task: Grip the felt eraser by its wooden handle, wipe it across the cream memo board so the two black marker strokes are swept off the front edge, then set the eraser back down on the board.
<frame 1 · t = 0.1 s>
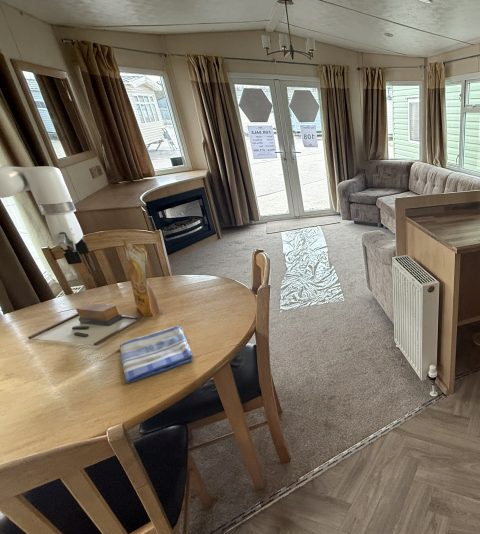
hand: (79, 258, 112), 28 cm above the table, tool pointing down, fingers open, 9 cm apart
stroke 1: (81, 328, 120), point 1 cm above the table, touching memo board
eraser: (101, 321, 125), point 1 cm above the table, touching memo board
dish towel: (157, 354, 111), on the table
memo board: (88, 330, 121), on the table
stroke 2: (81, 335, 117), point 1 cm above the table, touching memo board
pancake mix bag: (151, 310, 135), on the table
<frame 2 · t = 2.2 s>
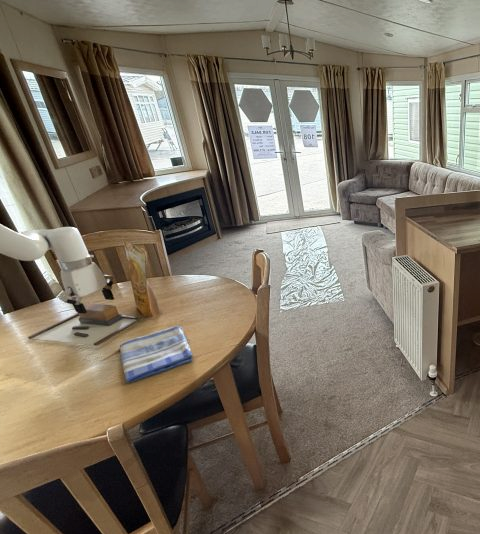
hand: (96, 305, 123), 7 cm above the table, tool pointing down, fingers open, 9 cm apart
nothing on the table moved.
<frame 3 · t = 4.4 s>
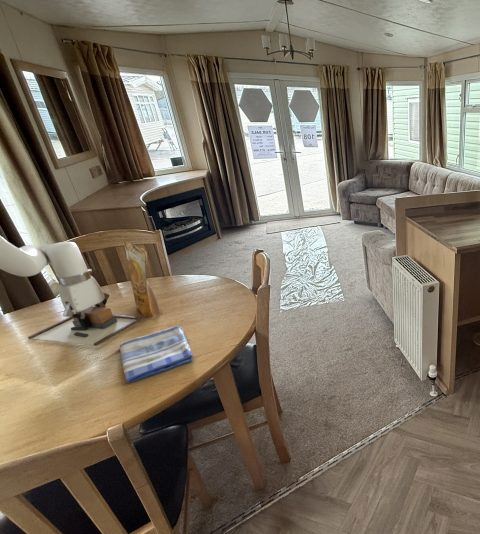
hand: (95, 321, 123), 2 cm above the table, tool pointing down, fingers closed on eraser, 5 cm apart
stroke 1: (79, 329, 120), point 1 cm above the table, touching gripper
eraser: (96, 323, 123), point 1 cm above the table, touching gripper
everything else where it was.
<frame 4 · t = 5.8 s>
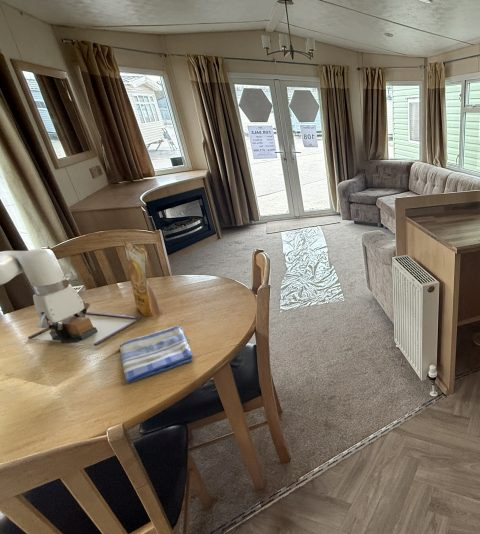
hand: (74, 332, 117), 2 cm above the table, tool pointing down, fingers closed on eraser, 5 cm apart
stroke 1: (60, 339, 114), point 1 cm above the table, touching eraser, gripper, memo board
eraser: (75, 334, 117), point 1 cm above the table, touching gripper, stroke 1
stroke 2: (70, 341, 114), point 1 cm above the table, touching memo board
everything else where it was.
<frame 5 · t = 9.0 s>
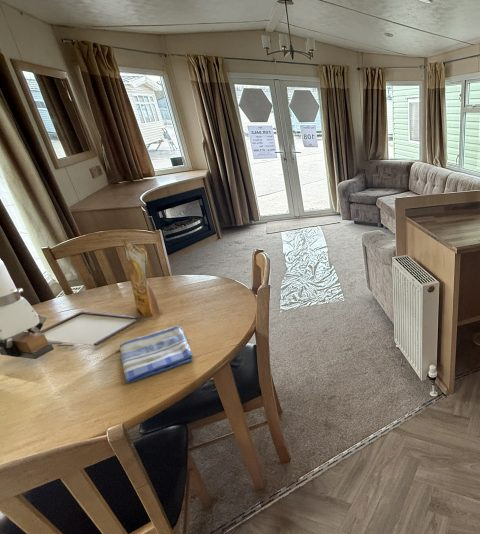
hand: (26, 349, 105), 4 cm above the table, tool pointing down, fingers closed on eraser, 5 cm apart
stroke 1: (56, 343, 113), on the table, tilted 90°
eraser: (28, 352, 105), point 3 cm above the table, touching gripper
stroke 2: (67, 345, 112), on the table, tilted 90°
everything else where it was.
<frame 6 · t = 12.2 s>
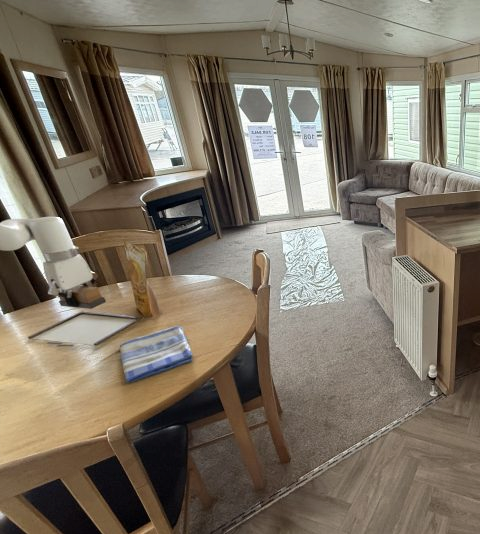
hand: (82, 301, 119), 11 cm above the table, tool pointing down, fingers closed on eraser, 5 cm apart
eraser: (83, 303, 119), point 10 cm above the table, touching gripper
everything else where it was.
when the fingers open (2 cm above the table, at t = 14.6 s): eraser stays where it is, resting on memo board.
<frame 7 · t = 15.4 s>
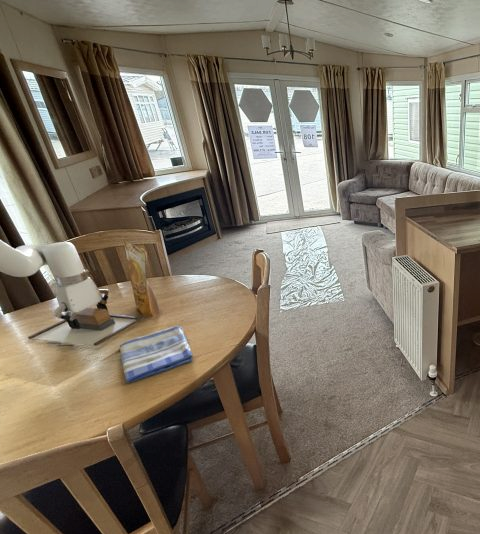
hand: (91, 320, 122), 3 cm above the table, tool pointing down, fingers open, 9 cm apart
eraser: (93, 325, 123), point 1 cm above the table, touching memo board
everything else where it was.
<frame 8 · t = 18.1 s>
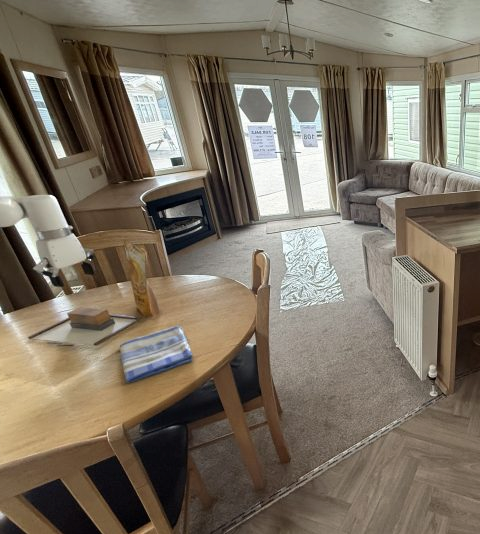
hand: (75, 280, 118), 18 cm above the table, tool pointing down, fingers open, 9 cm apart
nothing on the table moved.
at the end: stroke 1 point 0.5 cm above the table; stroke 2 point 0.5 cm above the table; eraser inside the target area (1.5 cm from its centre), point 1.0 cm above the table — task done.
